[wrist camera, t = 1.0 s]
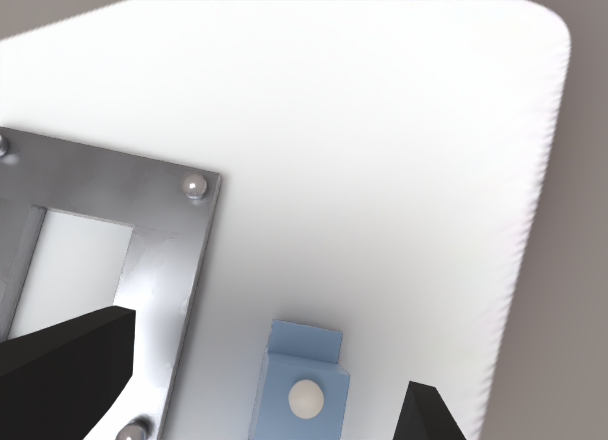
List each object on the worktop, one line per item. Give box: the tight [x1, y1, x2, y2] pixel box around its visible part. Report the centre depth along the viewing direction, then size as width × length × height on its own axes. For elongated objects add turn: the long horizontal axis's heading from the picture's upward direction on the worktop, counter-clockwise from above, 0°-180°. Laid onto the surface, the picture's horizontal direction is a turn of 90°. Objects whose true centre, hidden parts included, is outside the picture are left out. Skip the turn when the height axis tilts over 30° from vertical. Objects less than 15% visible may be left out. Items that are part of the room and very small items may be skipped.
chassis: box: [0, 127, 221, 440], centre depth 21 cm, size 14×12×2 cm
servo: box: [248, 319, 350, 440], centre depth 20 cm, size 8×4×6 cm, turn 169°
